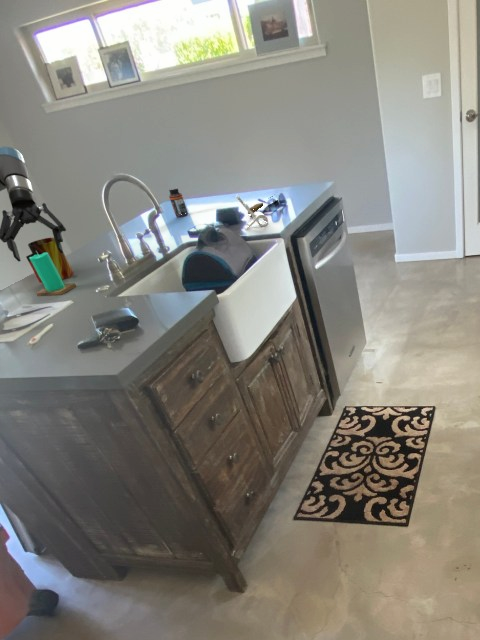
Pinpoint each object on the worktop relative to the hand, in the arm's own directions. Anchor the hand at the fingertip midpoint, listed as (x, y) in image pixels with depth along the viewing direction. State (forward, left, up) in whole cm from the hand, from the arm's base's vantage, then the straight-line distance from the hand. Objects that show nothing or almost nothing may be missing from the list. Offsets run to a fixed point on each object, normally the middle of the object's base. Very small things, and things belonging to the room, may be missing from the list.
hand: (39, 254), depth 172 cm
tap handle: (+41, +95, -11) cm, 105 cm away
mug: (-9, +13, -11) cm, 19 cm away
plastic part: (+49, +66, -11) cm, 83 cm away
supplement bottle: (-3, +98, -11) cm, 98 cm away
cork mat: (+1, -1, -11) cm, 11 cm away
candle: (+1, -1, -10) cm, 11 cm away
